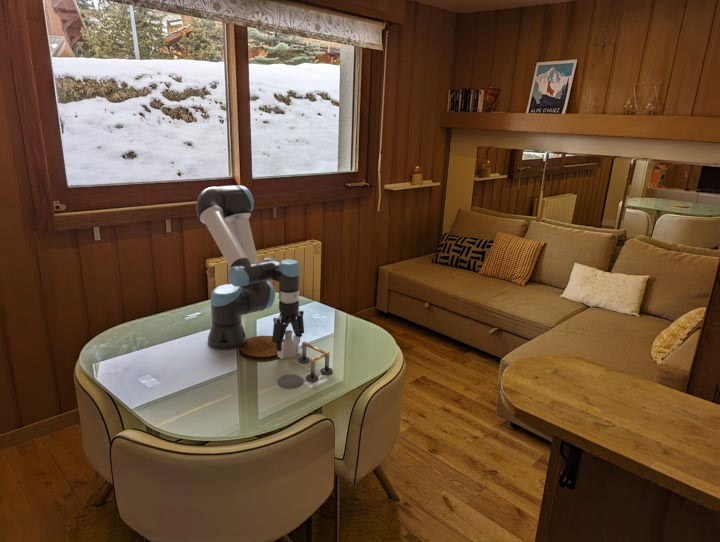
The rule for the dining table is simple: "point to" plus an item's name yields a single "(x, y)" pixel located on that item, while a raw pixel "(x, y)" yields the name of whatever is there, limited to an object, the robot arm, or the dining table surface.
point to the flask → (289, 345)
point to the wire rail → (304, 359)
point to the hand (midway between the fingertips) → (288, 354)
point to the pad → (290, 381)
